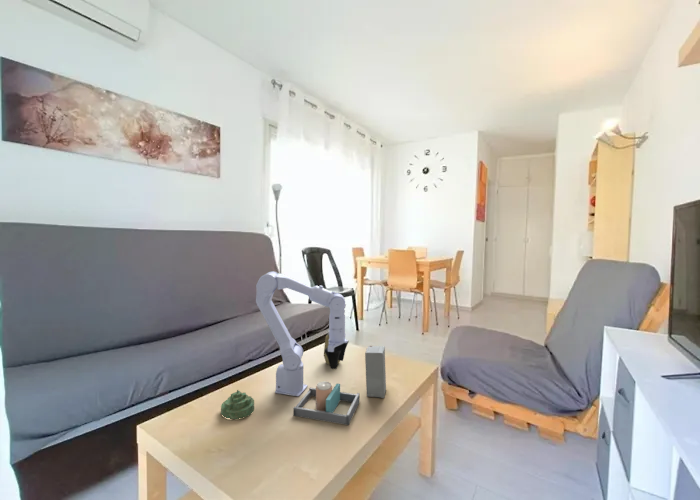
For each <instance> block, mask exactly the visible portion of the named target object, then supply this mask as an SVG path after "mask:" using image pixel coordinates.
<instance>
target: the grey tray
mask: <svg viewBox="0 0 700 500" xmlns="http://www.w3.org/2000/svg"><path fill="white" fill-rule="evenodd" d="M311 397H316V388H315V387H309V389H308V391H307V392H306V393H305V394H304V396H303V397H302V398H301V400H300V401H299V402H298V403H297V404H296V406H294V407H292V408H293V414H292V415H293V416H294V417H299V418H306V419H311V420H316V421H322V422H328V423H333V424H334V423H335V424H340V425H346V426H349V425H350V423H351V422H352V419H353V417H354V416H355V415H354V414H355V412H356V410H357V408H358V406H359V403H360V392H357V393H350V392H344V391H343V392H342V391H340V401H344V402H348V403H349V402H351V405H350V407H349V409H348V410H347V413H346V414H342V413H338V412H337V413H336V412H333V413H331V412H325V411H319V410H316V409H312V408H306V407H304V406H305V405H306V404H307V402H308V401H309V400H310V398H311Z"/></svg>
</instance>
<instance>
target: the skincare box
mask: <svg viewBox="0 0 700 500" xmlns="http://www.w3.org/2000/svg"><path fill="white" fill-rule="evenodd" d="M364 355H365V356H364V357H365V358H364V360H365V361H364V362H365V382H366V383H365V384H366V385H365V387H366V397H373V398H382V399H384V398H385V397H386V391H387V382H386V381H387V380H386V379H387V375H386V373H387V372H386V347H385V346H384V345H368V346H367V348H366V350H365V353H364Z"/></svg>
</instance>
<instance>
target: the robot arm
mask: <svg viewBox="0 0 700 500" xmlns="http://www.w3.org/2000/svg"><path fill="white" fill-rule="evenodd" d="M255 287H256V288H255V289H256V296H255V304H256V305H257V308H258V309H259V311H260V314H261V315H262V316H263V318H264V320H265V322H266V324H267V326H268V327H269V329H270V331H271V333H272V335H273V337H274V339H275V340H276V342H277V344H278V346H279V352H280V356H281V358H282V363H281V364H279V365H278V367H277V368H276V371H275V391H274V393H275V394H279V395H288V396H292V397H300V396H301V395H302V393H304V391H305V390H306V389H307V388H308V384H305V383H304V363H303V361H302V359H303V356H304V349H303V347H302V346H301V345H300V344H299V343H298V342H297V340H296V339H294V338H293V337H292V336H291V334H290V331H289V330H288V328H287V326H286V325H285V322H284V320H283V319H282V317H281V315H280V312H278V309H277V307H276V306H275V304H274V302H273V296H274V294H275V291H276V290H278V291H279V290H283V289H289V290H291V291H295V292H298V293H300V294H303V295H306V296H308V298H309V301H311V302H314V303H315V304H318V305H321V306H322V307H323V306H324V307H328V308H329V316H328V317H329V319H328V321H329V322H328V325H329V327H328V328H329V329H328V330H329V345H328V348H326V349H325V353H326V355H327V357H328V360H329V364H330V365H329V367H330V370H331V369H332V370H337V369H338V365H339V364H338V360H339V361H340V362H343V361H344V358H345V353H346V349H347V346H348V344H349V340H348V339H346V314H345V313H346V312H345V311H346V310H345V309H346V305H347V304H346V299H345V297H344V295H342V294H341V293H339V292H336V291H334V290H332V291H331V290H330V289H329V290H328V289H326V288H324V286H323V285H322V284H321V285H320V284H319V286H318V285H314V286H310V285H307V284H305V283H304V282H302V281H299V280H297V279H294V278H292V277H291V276H288V275H286V274H283V273H278V272H277V271H273V270H272V271H268V272H266V273H265V274H263V275H261V276H260V277H259V279H258V281H257V283H256V284H255Z"/></svg>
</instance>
